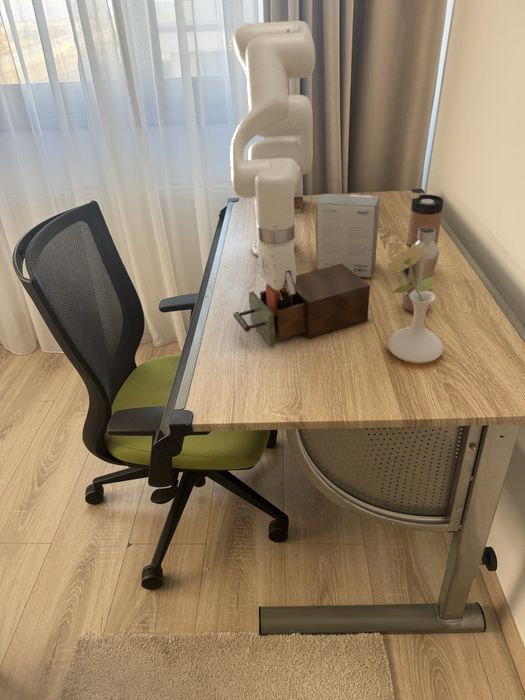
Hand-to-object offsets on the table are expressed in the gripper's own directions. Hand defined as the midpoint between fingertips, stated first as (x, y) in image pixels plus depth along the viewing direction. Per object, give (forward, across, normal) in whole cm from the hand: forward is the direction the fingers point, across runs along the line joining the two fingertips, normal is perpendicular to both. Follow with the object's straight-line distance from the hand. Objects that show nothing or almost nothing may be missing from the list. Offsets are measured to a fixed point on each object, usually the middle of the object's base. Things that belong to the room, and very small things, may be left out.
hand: (279, 307), depth 116 cm
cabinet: (+6, 0, +12) cm, 13 cm away
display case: (+6, -72, +36) cm, 81 cm away
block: (0, 0, 0) cm, 0 cm away
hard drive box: (+6, -19, +29) cm, 35 cm away
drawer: (+5, 0, 0) cm, 5 cm away
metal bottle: (+6, +7, +33) cm, 34 cm away
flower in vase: (+6, +21, +21) cm, 30 cm away
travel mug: (+6, -8, +45) cm, 46 cm away
